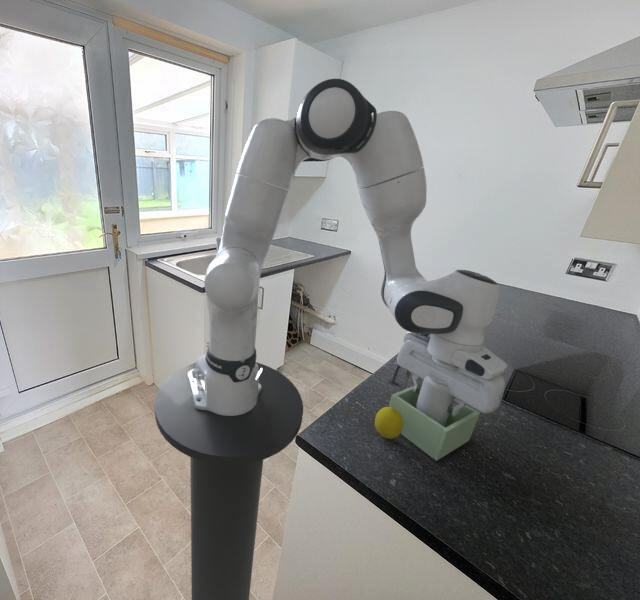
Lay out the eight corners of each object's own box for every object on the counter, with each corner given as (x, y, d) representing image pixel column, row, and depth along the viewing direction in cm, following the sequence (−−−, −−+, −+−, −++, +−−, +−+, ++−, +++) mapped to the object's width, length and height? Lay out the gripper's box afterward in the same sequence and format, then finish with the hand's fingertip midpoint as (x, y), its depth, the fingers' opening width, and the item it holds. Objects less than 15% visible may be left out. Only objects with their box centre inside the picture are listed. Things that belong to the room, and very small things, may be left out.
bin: (384, 421, 74) (391, 394, 72) (416, 406, 80) (424, 381, 77) (436, 461, 64) (447, 431, 61) (469, 440, 70) (480, 412, 67)
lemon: (399, 435, 70) (408, 406, 68) (395, 451, 66) (404, 421, 63) (374, 424, 73) (381, 396, 70) (368, 439, 69) (376, 409, 66)
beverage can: (447, 421, 71) (463, 377, 67) (439, 435, 67) (456, 389, 63) (418, 407, 75) (431, 365, 71) (408, 419, 71) (422, 375, 67)
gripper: (398, 330, 71) (385, 380, 76) (501, 377, 55) (476, 438, 60) (415, 325, 74) (401, 374, 79) (518, 369, 58) (492, 428, 63)
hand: (434, 402), depth 69 cm, fingers closed on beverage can, 6 cm apart
